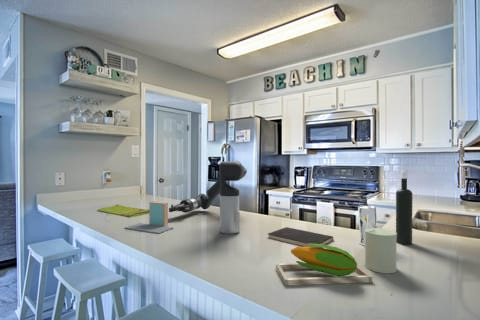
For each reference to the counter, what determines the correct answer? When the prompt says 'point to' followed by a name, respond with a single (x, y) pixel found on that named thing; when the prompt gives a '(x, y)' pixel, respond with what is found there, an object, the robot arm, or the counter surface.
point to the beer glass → (366, 220)
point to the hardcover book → (300, 237)
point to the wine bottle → (404, 212)
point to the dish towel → (124, 211)
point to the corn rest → (320, 280)
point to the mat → (149, 228)
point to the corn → (326, 259)
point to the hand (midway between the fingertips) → (169, 210)
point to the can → (380, 250)
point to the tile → (158, 213)
